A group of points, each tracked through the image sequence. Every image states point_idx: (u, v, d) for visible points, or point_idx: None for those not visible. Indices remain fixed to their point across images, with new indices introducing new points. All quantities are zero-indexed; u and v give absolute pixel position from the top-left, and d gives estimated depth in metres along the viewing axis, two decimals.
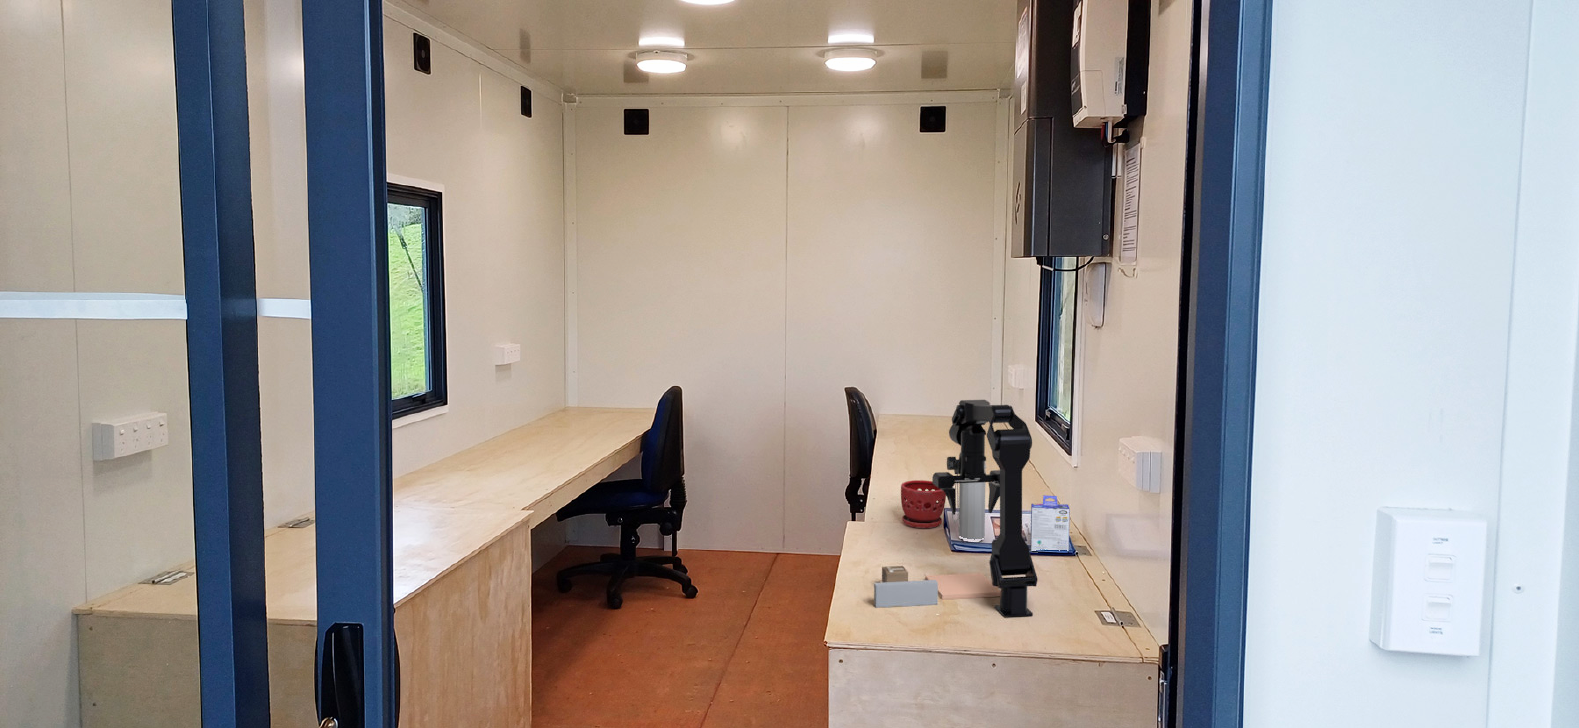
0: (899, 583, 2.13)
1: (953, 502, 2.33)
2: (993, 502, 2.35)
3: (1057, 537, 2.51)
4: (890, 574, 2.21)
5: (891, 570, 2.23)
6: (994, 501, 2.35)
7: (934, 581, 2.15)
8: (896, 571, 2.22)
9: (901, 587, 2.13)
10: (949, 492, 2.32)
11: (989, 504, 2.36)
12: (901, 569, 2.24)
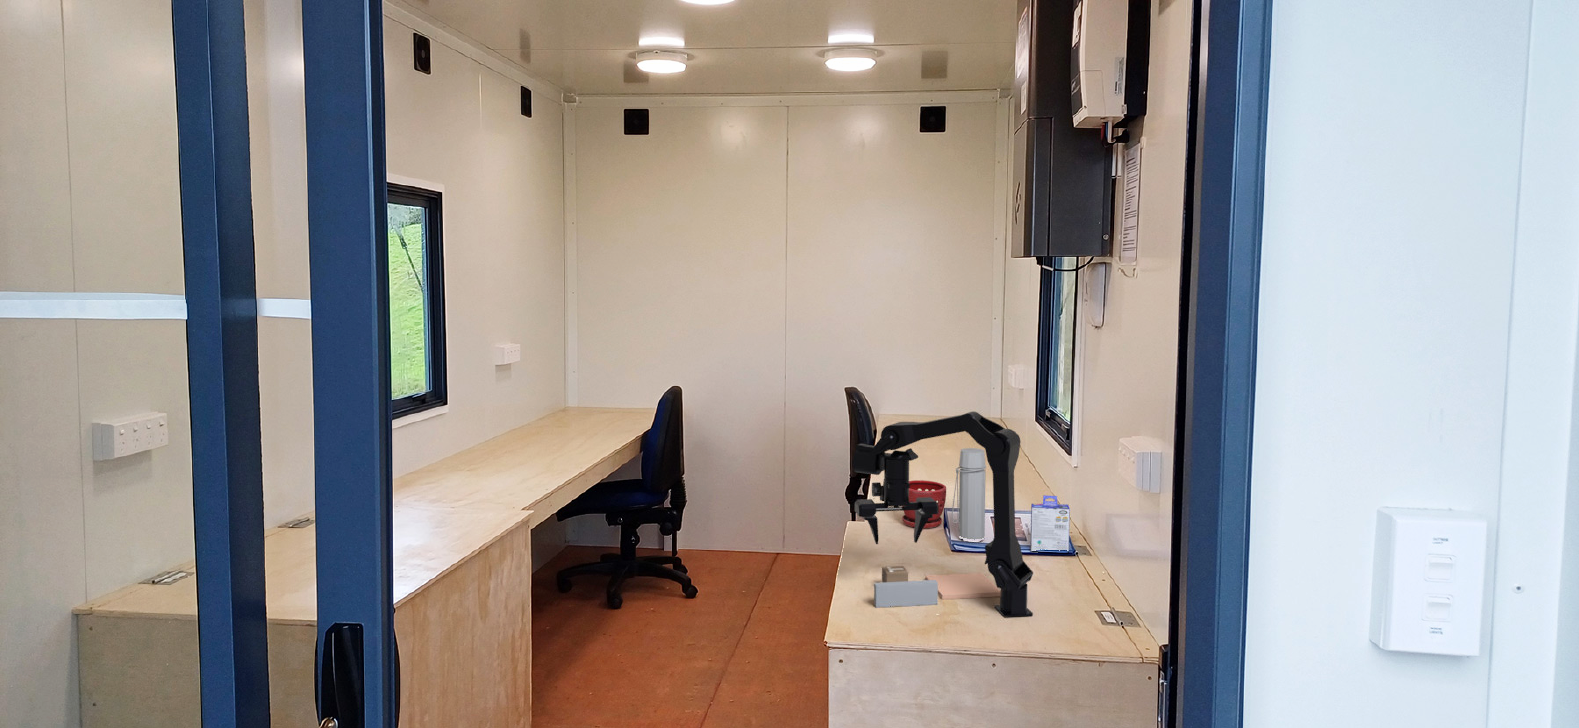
0: (899, 583, 2.13)
1: (875, 531, 2.21)
2: (918, 531, 2.22)
3: (1057, 537, 2.51)
4: (890, 574, 2.21)
5: (891, 570, 2.23)
6: (919, 530, 2.22)
7: (934, 581, 2.15)
8: (896, 571, 2.22)
9: (901, 587, 2.13)
10: (870, 521, 2.19)
11: (914, 533, 2.24)
12: (901, 569, 2.24)
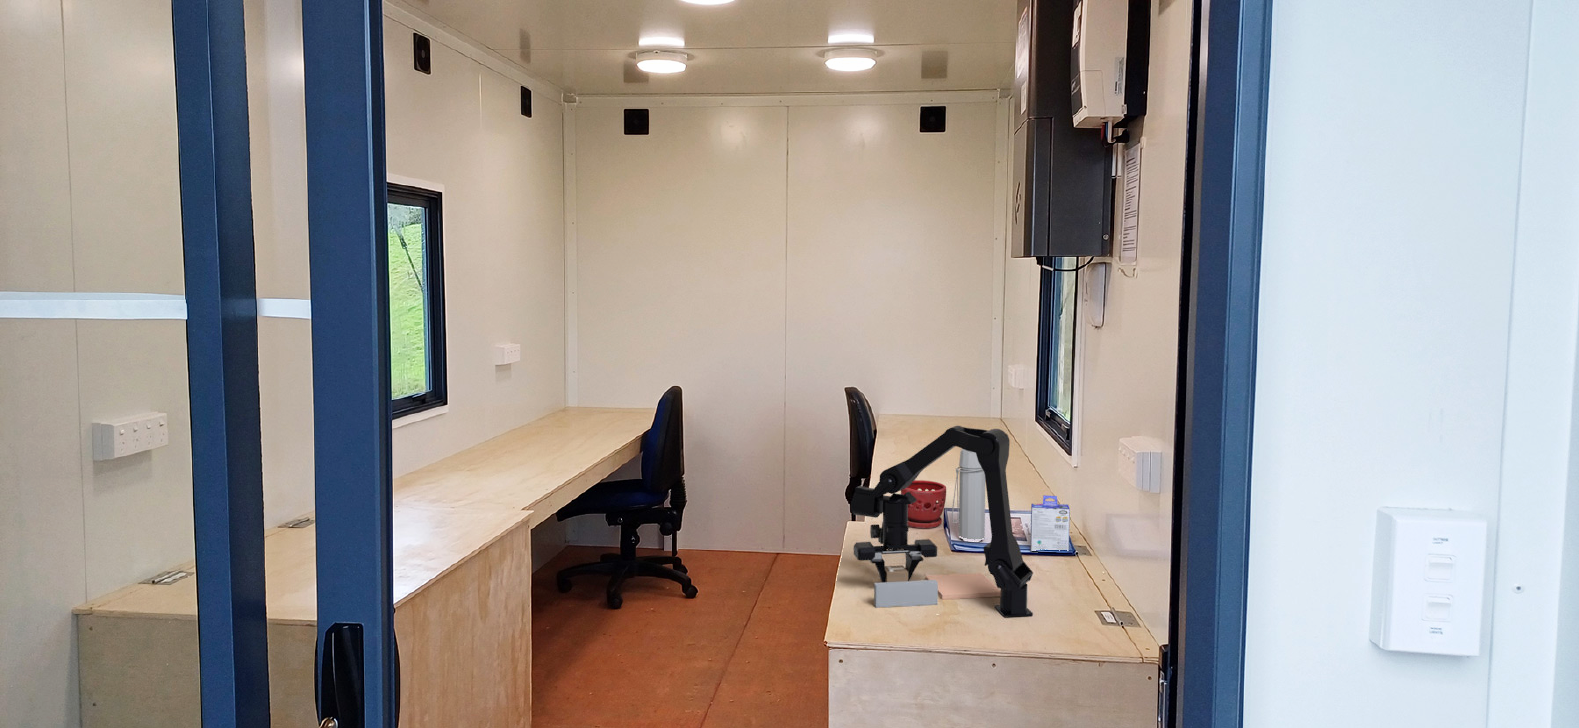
0: (899, 583, 2.13)
1: (882, 574, 2.22)
2: (909, 574, 2.23)
3: (1057, 537, 2.51)
4: (890, 573, 2.21)
5: (891, 570, 2.23)
6: (910, 573, 2.23)
7: (934, 581, 2.15)
8: (896, 571, 2.22)
9: (901, 587, 2.13)
10: (878, 564, 2.20)
11: None
12: (901, 569, 2.24)
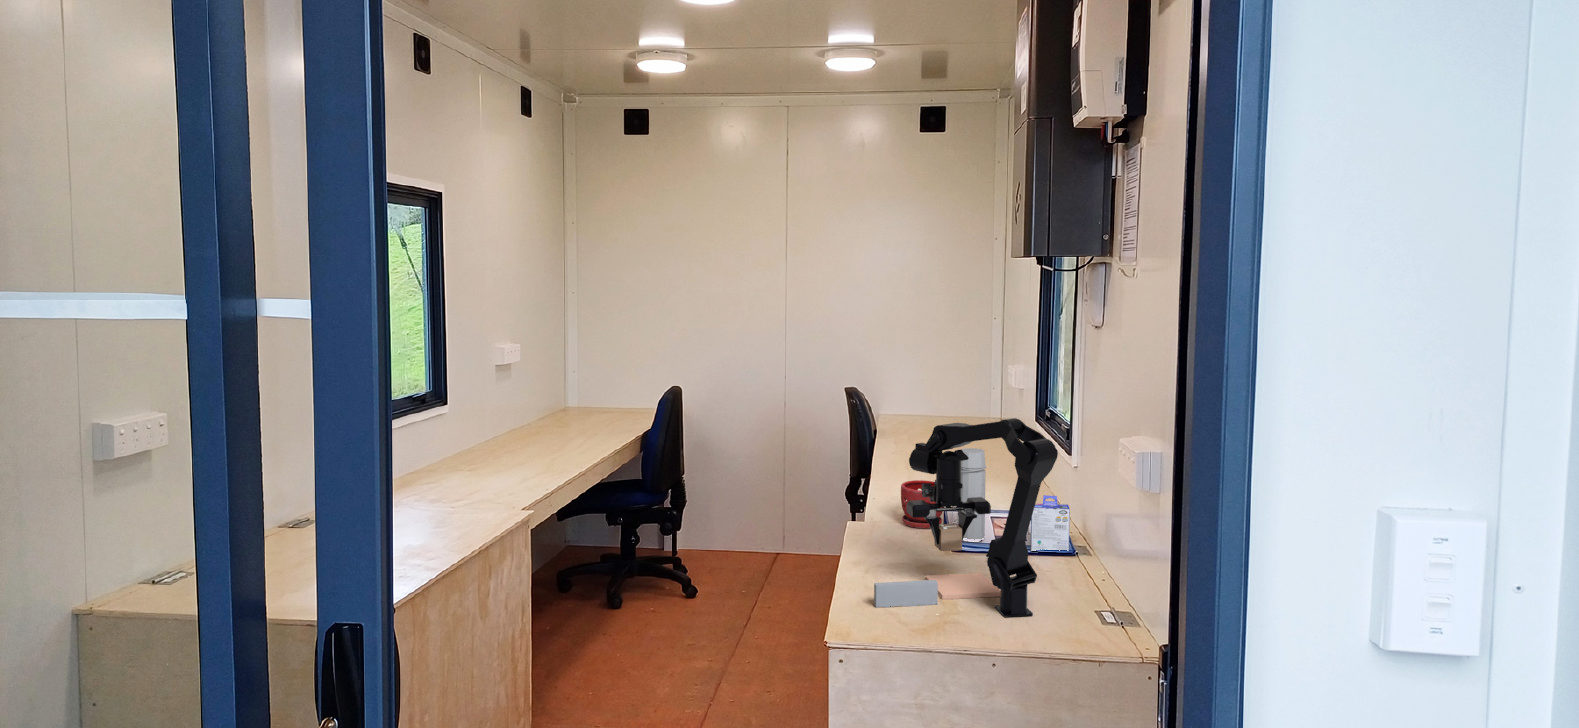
0: (899, 583, 2.13)
1: (936, 531, 2.21)
2: (962, 532, 2.23)
3: (1057, 537, 2.51)
4: (944, 530, 2.21)
5: (945, 527, 2.22)
6: (963, 530, 2.22)
7: (934, 581, 2.15)
8: (950, 528, 2.22)
9: (901, 587, 2.13)
10: (932, 521, 2.20)
11: None
12: (954, 526, 2.23)
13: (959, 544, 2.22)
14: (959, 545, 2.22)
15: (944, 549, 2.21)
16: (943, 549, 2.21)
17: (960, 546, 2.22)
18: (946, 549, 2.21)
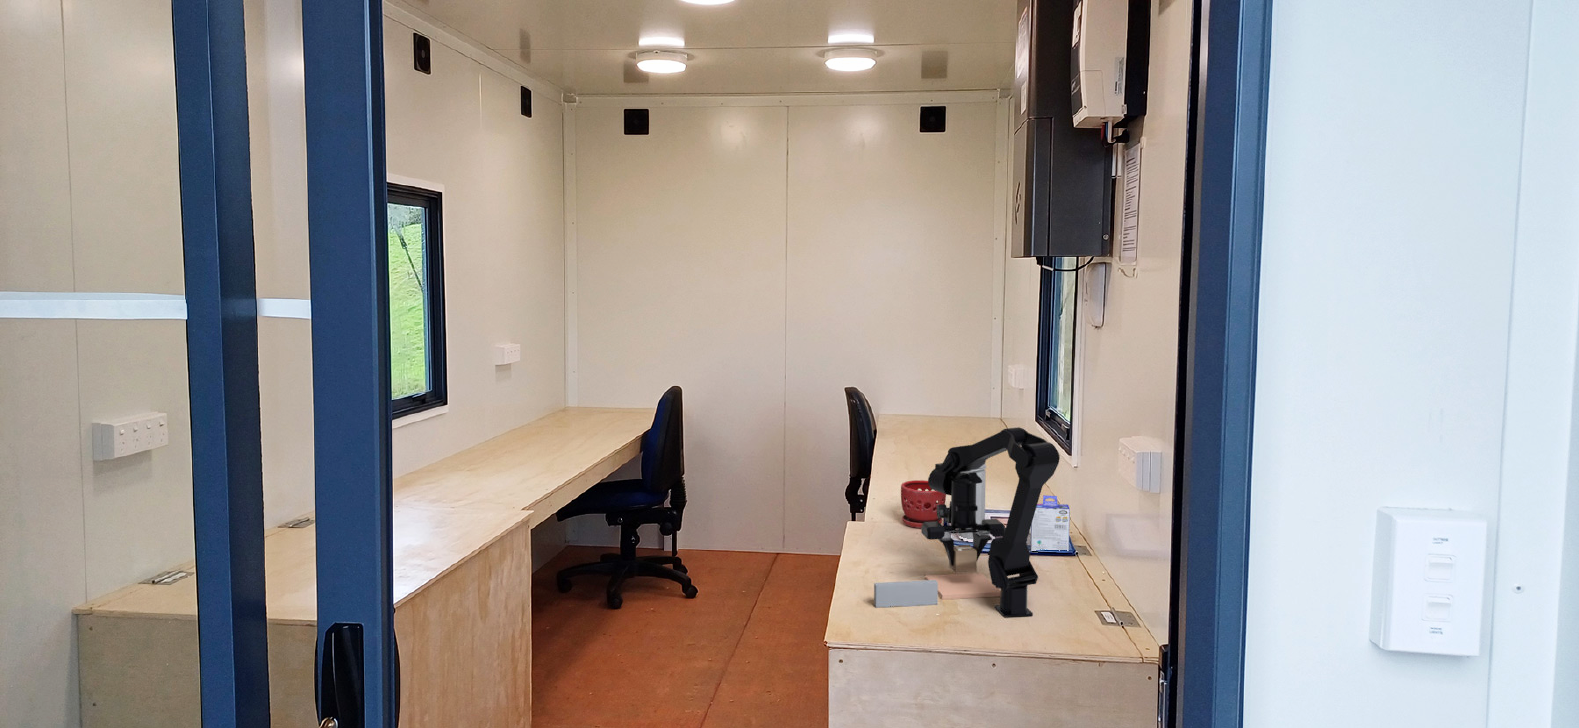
0: (899, 583, 2.13)
1: (951, 553, 2.22)
2: (977, 554, 2.23)
3: (1057, 537, 2.51)
4: (959, 552, 2.22)
5: (959, 549, 2.23)
6: (978, 552, 2.23)
7: (934, 581, 2.15)
8: (964, 550, 2.23)
9: (901, 587, 2.13)
10: (947, 543, 2.21)
11: None
12: (969, 548, 2.24)
13: (974, 566, 2.23)
14: (974, 567, 2.23)
15: (959, 571, 2.22)
16: (958, 571, 2.22)
17: (975, 568, 2.23)
18: (961, 571, 2.22)
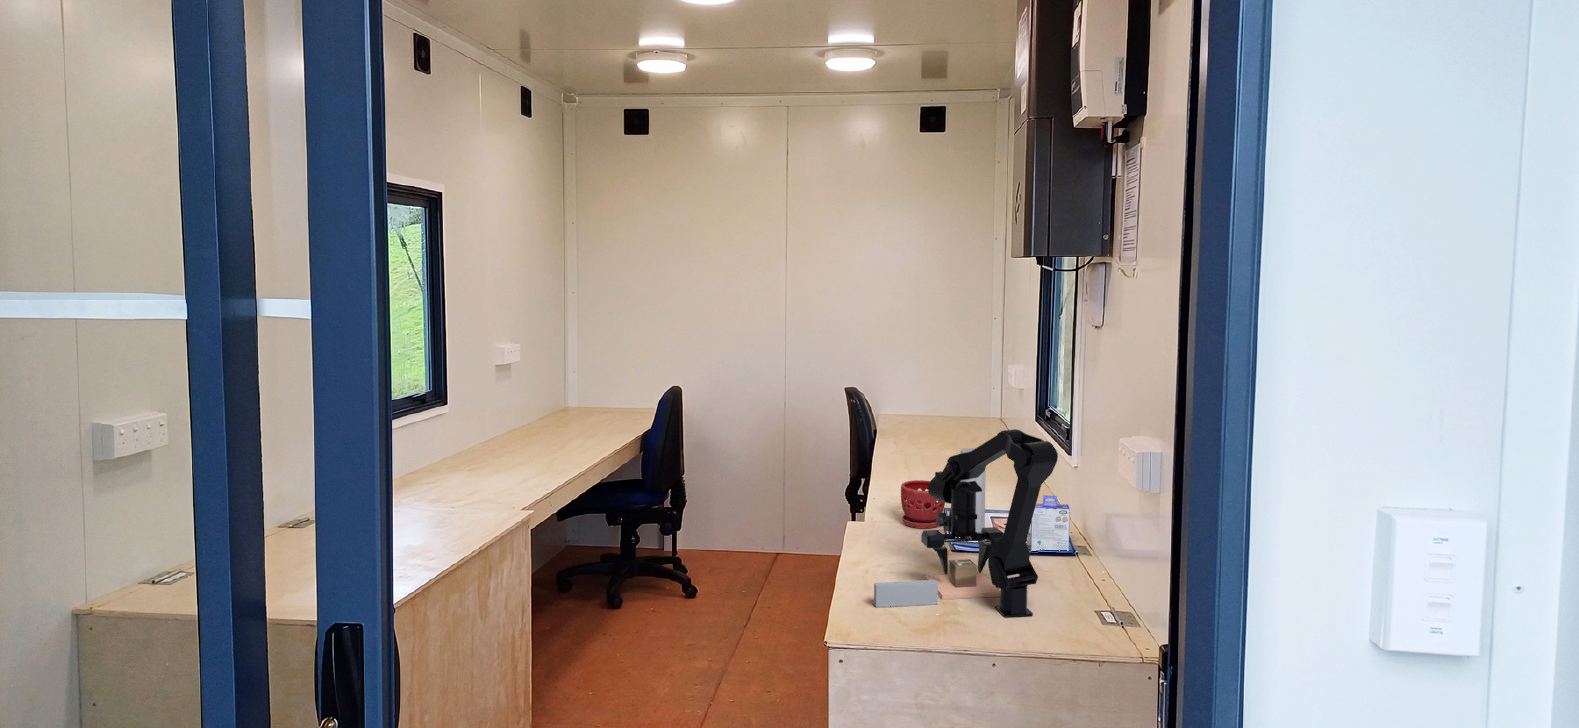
0: (899, 583, 2.13)
1: (945, 562, 2.22)
2: (983, 562, 2.24)
3: (1057, 537, 2.51)
4: (959, 567, 2.22)
5: (959, 563, 2.24)
6: (984, 560, 2.24)
7: (934, 581, 2.15)
8: (964, 564, 2.23)
9: (901, 587, 2.13)
10: (941, 552, 2.21)
11: (979, 563, 2.25)
12: (969, 562, 2.25)
13: (974, 580, 2.23)
14: (973, 581, 2.23)
15: (958, 585, 2.23)
16: (957, 585, 2.23)
17: (974, 582, 2.23)
18: (961, 585, 2.23)
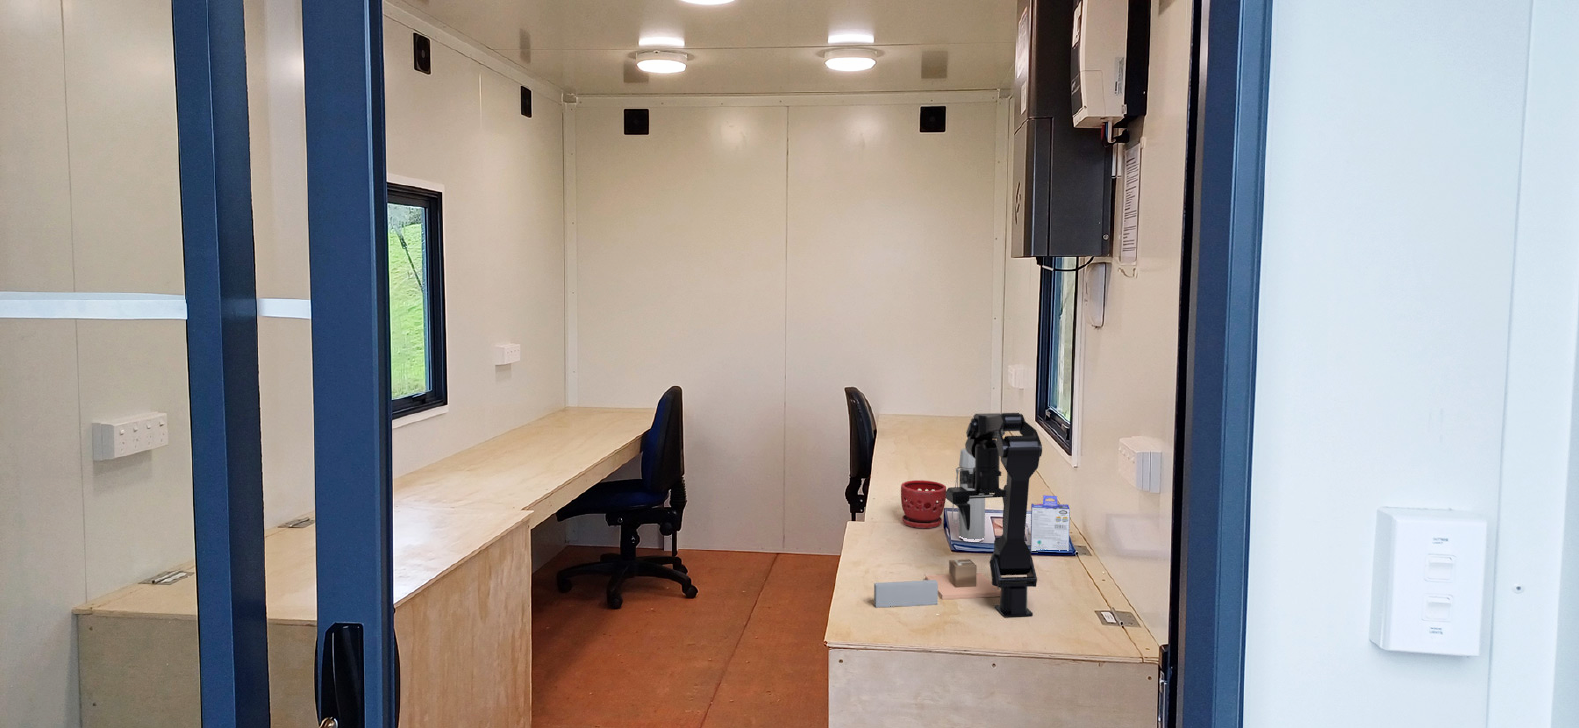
0: (899, 583, 2.13)
1: (967, 518, 2.28)
2: None
3: (1057, 537, 2.51)
4: (959, 567, 2.22)
5: (959, 563, 2.24)
6: None
7: (934, 581, 2.15)
8: (964, 564, 2.23)
9: (901, 587, 2.13)
10: (964, 508, 2.26)
11: (1003, 519, 2.32)
12: (969, 562, 2.25)
13: (974, 580, 2.23)
14: (973, 581, 2.23)
15: (958, 585, 2.23)
16: (957, 585, 2.23)
17: (974, 582, 2.23)
18: (961, 585, 2.23)
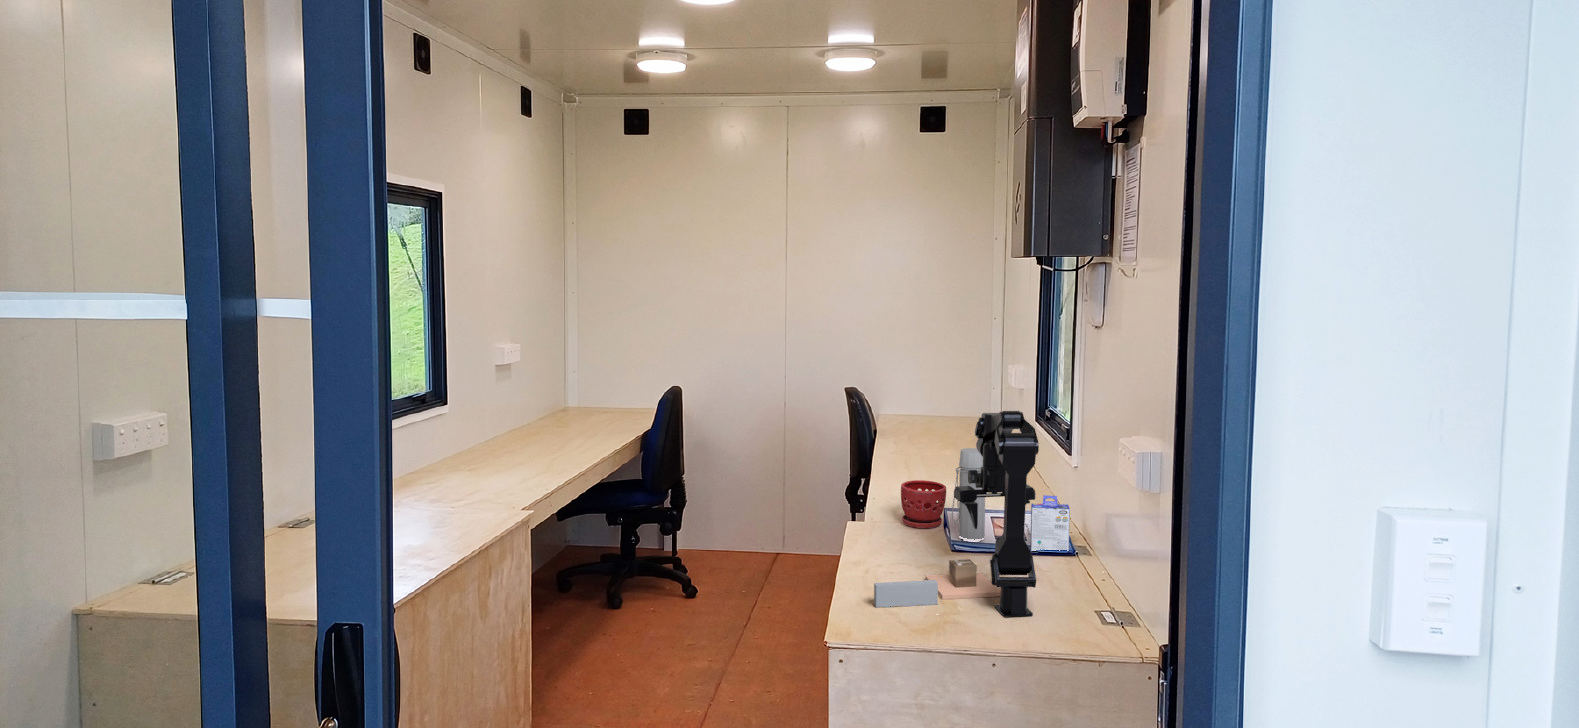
0: (899, 583, 2.13)
1: (975, 516, 2.30)
2: None
3: (1057, 537, 2.51)
4: (959, 567, 2.22)
5: (959, 563, 2.24)
6: None
7: (934, 581, 2.15)
8: (964, 564, 2.23)
9: (901, 587, 2.13)
10: (971, 506, 2.28)
11: None
12: (969, 562, 2.25)
13: (974, 580, 2.23)
14: (973, 581, 2.23)
15: (958, 585, 2.23)
16: (957, 585, 2.23)
17: (974, 582, 2.23)
18: (961, 585, 2.23)
